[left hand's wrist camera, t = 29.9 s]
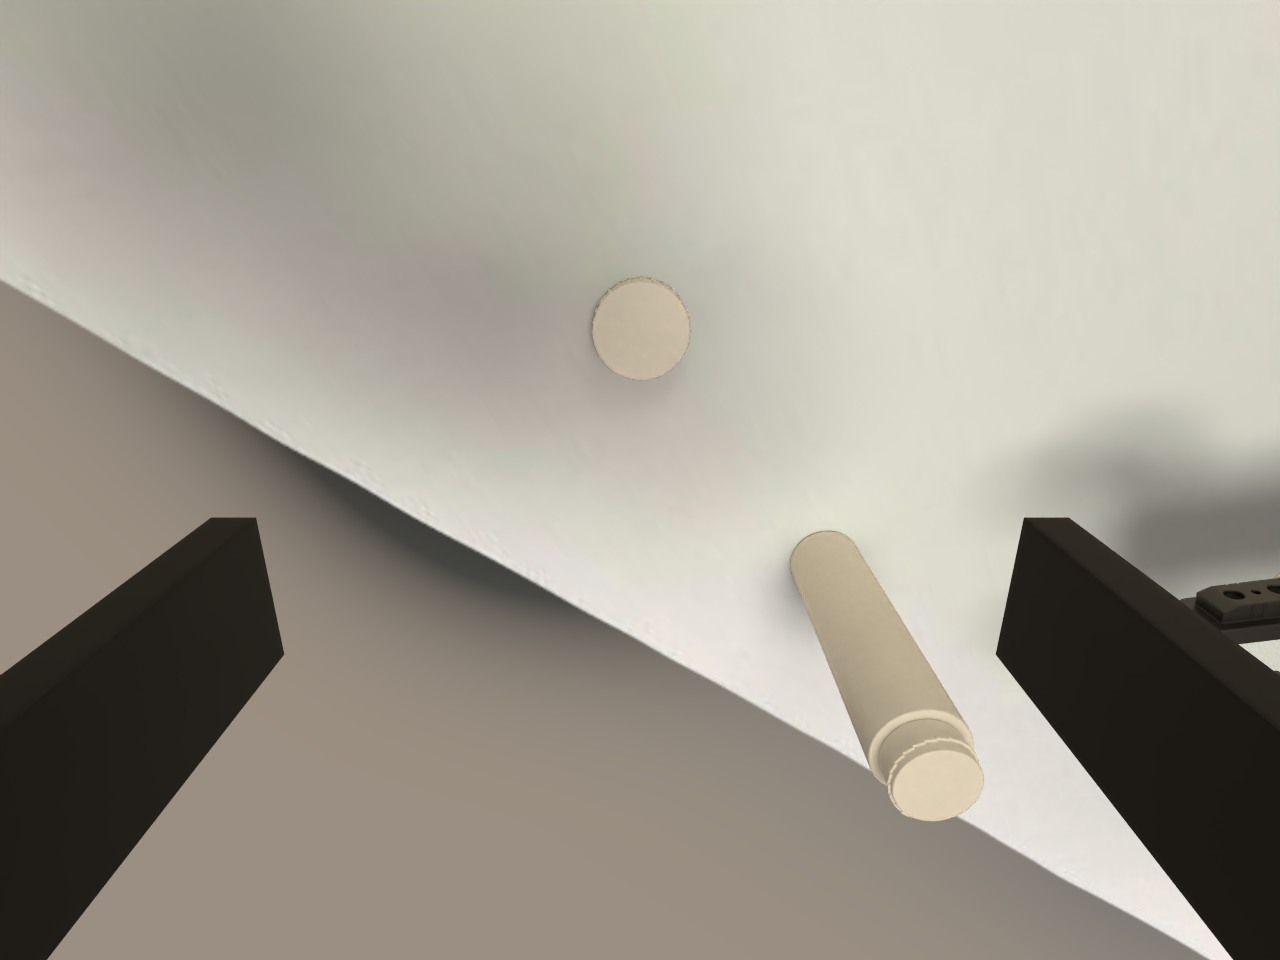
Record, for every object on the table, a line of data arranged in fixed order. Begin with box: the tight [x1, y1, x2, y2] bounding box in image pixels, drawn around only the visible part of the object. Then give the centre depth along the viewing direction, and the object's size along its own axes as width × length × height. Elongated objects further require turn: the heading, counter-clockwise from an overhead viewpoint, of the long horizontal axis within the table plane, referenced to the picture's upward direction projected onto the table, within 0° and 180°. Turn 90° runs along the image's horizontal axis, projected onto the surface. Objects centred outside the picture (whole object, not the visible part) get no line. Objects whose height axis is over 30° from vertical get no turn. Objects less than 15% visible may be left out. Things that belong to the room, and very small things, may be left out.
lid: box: [592, 277, 691, 380], centre depth 39 cm, size 5×5×2 cm
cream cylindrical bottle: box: [790, 531, 984, 821], centre depth 37 cm, size 4×4×19 cm
